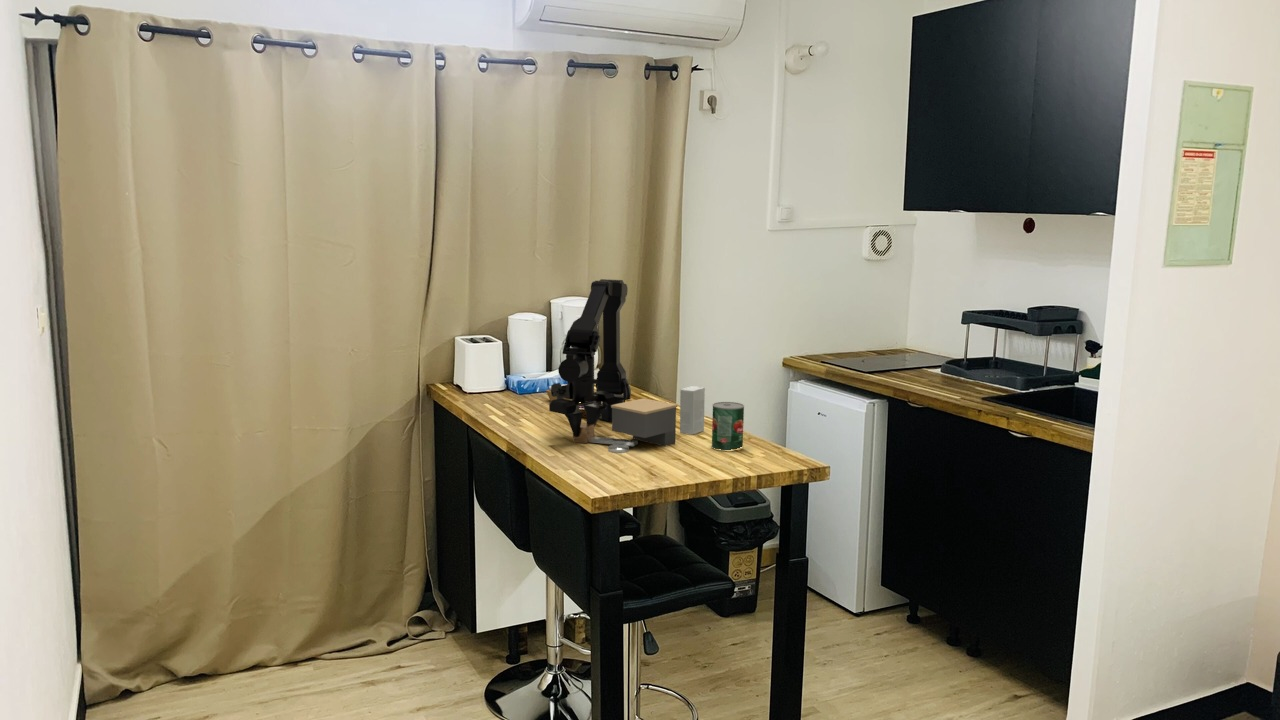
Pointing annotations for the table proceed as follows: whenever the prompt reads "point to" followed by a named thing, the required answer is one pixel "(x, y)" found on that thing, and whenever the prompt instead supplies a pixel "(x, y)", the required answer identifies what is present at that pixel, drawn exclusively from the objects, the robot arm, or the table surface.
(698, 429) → the skincare box
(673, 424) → the cabinet
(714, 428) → the canned tomato
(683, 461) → the table surface
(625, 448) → the token
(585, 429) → the brown block with rod
